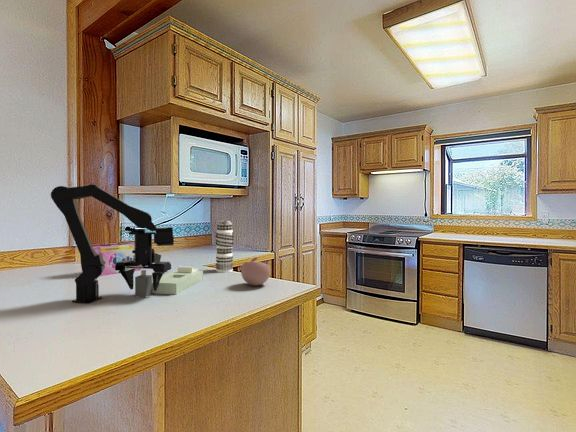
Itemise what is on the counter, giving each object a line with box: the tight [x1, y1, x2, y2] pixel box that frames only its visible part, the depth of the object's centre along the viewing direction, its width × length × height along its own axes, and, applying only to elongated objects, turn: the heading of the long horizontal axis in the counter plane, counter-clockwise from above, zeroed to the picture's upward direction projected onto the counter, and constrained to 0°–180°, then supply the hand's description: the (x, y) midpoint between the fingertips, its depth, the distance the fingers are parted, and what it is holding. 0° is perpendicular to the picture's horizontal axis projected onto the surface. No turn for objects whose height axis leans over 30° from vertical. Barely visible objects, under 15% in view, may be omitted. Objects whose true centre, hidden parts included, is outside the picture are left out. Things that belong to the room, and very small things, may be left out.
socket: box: [152, 269, 204, 295], centre depth 131 cm, size 24×12×4 cm, turn 172°
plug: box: [134, 269, 153, 298], centre depth 117 cm, size 4×4×9 cm
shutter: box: [177, 266, 199, 273], centre depth 141 cm, size 6×6×2 cm
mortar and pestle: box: [240, 256, 271, 287], centre depth 133 cm, size 12×12×12 cm
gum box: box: [92, 241, 142, 277], centre depth 158 cm, size 24×8×14 cm, turn 139°
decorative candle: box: [214, 220, 235, 273], centre depth 163 cm, size 9×9×25 cm
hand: (143, 289), depth 117 cm, fingers open, 9 cm apart
